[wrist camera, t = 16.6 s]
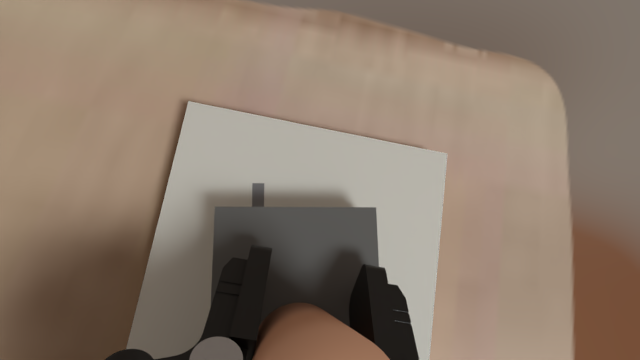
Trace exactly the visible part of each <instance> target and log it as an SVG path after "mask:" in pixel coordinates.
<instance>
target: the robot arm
mask: <svg viewBox="0 0 640 360" xmlns="http://www.w3.org/2000/svg"><path fill="white" fill-rule="evenodd" d="M271 254H272V248H269V247H263V246H257V245H251V248H250V252H249V257H248V260H246V259H240V258H234V257H232V259H231V260H230V261H229V262H228V263H227V264H226V265H225V266H224V267H223V269H222V272H221V275H220V279H219V282H218V285H217V288H216V292H215V295H214V298H213V301H212V305H211V308H210V311H209V314H208V318H207V321H206V324H205V327H204V331H203V334H202V336H201V338H200V340H199V341H198V342H197V343H196V345H194V346H193V347H192V348H191V349H189V350H188V351H186V352H184V353H182V354H179V355H176V356H171V357H165V358H159V359H153V358H152V356H151V355H150V354H148V353H147V352H145V351H143V350H139V349H126V350H122V351H119V352H116V353H114V354H112V355H111V356H109V357H108V358H106V359H105V360H252V358H253V355H254V351H255V347H256V342H257V336H258V331H259V325H260V319H261V313H262V307H263V301H264V295H265V289H266V283H267V277H268V271H269V265H270V259H271ZM408 312H409V311H408V306H407V301H406V298H405V296H404V295H403V293H402V291H401V290H400V288H399V287H398V285H393V284H388V279H387V274H386V270H385V268H384V267H378V266H372V265H366V264H363V265H362V267H361V269H360V272H359V275H358V277H357V280H356V283H355V285H354V288H353V291H352V293H351V297H350V304H349V321H350V328H352V329H353V330H355V331H356V332H358V333H359V334H361V335H362V336H364V337H365V338H367V339H368V340H370V341H371V342H373V343H374V344H375V345H376V346H378V347H379V348H380V349H381V350H382V351H383V352H384V353H385V354H386V356H387V357H388V358H389V359H390V360H419V356H418V352H417V347H416V343H415V338H414V333H413V329H412V325H411V320H410V315H409V314H408Z"/></svg>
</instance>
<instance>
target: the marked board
mask: <svg viewBox="0 0 640 360" xmlns="http://www.w3.org/2000/svg"><path fill="white" fill-rule="evenodd" d="M446 165H447V153H442V152H437V151H432V150H427V149H422V148H417V147H412V146H407V145H403V144H398V143H393V142H388V141H383V140H378V139H373V138H368V137H363V136H358V135H353V134H348V133H343V132H338V131H334V130H329V129H324V128H319V127H314V126H309V125H304V124H299V123H294V122H289V121H284V120H279V119H274V118H269V117H264V116H260V115H255V114H250V113H245V112H240V111H235V110H230V109H225V108H220V107H215V106H210V105H205V104H200V103H195V102H191V101H188V105H187V109H186V113H185V117H184V121H183V125H182V129H181V133H180V137H179V141H178V145H177V149H176V153H175V157H174V161H173V165H172V169H171V173H170V177H169V181H168V184H167V188H166V192H165V196H164V200H163V204H162V208H161V212H160V216H159V220H158V224H157V228H156V232H155V236H154V240H153V244H152V248H151V252H150V256H149V260H148V264H147V268H146V272H145V276H144V280H143V284H142V288H141V292H140V296H139V300H138V304H137V308H136V312H135V316H134V320H133V324H132V328H131V331H130V335H129V339H128V343H127V347H126V349H139V350H143V351H145V352H147V353H148V354H150V355H151V356H152V358H153V359H159V358H165V357H171V356H176V355H179V354H182V353H184V352H186V351H188V350H189V349H191V348H192V347H193V346H194V345H196V343H197V342H198V341H199V340H200V338H201V336H202V334H203V331H204V327H205V324H206V321H207V318H208V314H209V311H210V308H211V285H212V261H213V237H214V213H215V207H376V215H377V236H378V257H379V267H384V268H385V270H386V274H387V279H388V284H393V285H398V287H399V288H400V290H401V291H402V293H403V295H404V296H405V298H406V301H407V306H408V311H409V312H408V314H409V315H410V320H411V325H412V329H413V333H414V338H415V343H416V347H417V352H418V356H419V360H429V357H430V346H431V335H432V323H433V312H434V301H435V289H436V278H437V267H438V255H439V244H440V233H441V221H442V210H443V199H444V187H445V176H446Z"/></svg>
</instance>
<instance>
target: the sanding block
mask: <svg viewBox="0 0 640 360" xmlns="http://www.w3.org/2000/svg"><path fill="white" fill-rule="evenodd" d="M251 245H257V246H263V247H269V248H272V254H271V259H270V265H269V271H268V277H267V283H266V289H265V295H264V301H263V307H262V313H261V319H260V325H259V331H258V336H257V342H256V347H255V351H254V355H253V358H252V360H390V359H389V358H388V357H387V356H386V354H385V353H384V352H383V351H382V350H381V349H380V348H379V347H378V346H376V345H375V344H374V343H373V342H371V341H370V340H368V339H367V338H365V337H364V336H362V335H361V334H359V333H358V332H356V331H355V330H353V329H352V328H350V321H349V304H350V297H351V293H352V291H353V288H354V285H355V283H356V280H357V277H358V275H359V272H360V269H361V267H362V265H363V264H366V265H372V266H378V267H379V257H378V236H377V215H376V207H215V213H214V237H213V261H212V285H211V305H212V301H213V298H214V295H215V292H216V288H217V285H218V282H219V279H220V275H221V272H222V269H223V267H224V266H225V265H226V264H227V263H228V262H229V261H230V260H231V259H232V257H234V258H240V259H246V260H248V257H249V252H250V248H251Z"/></svg>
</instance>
